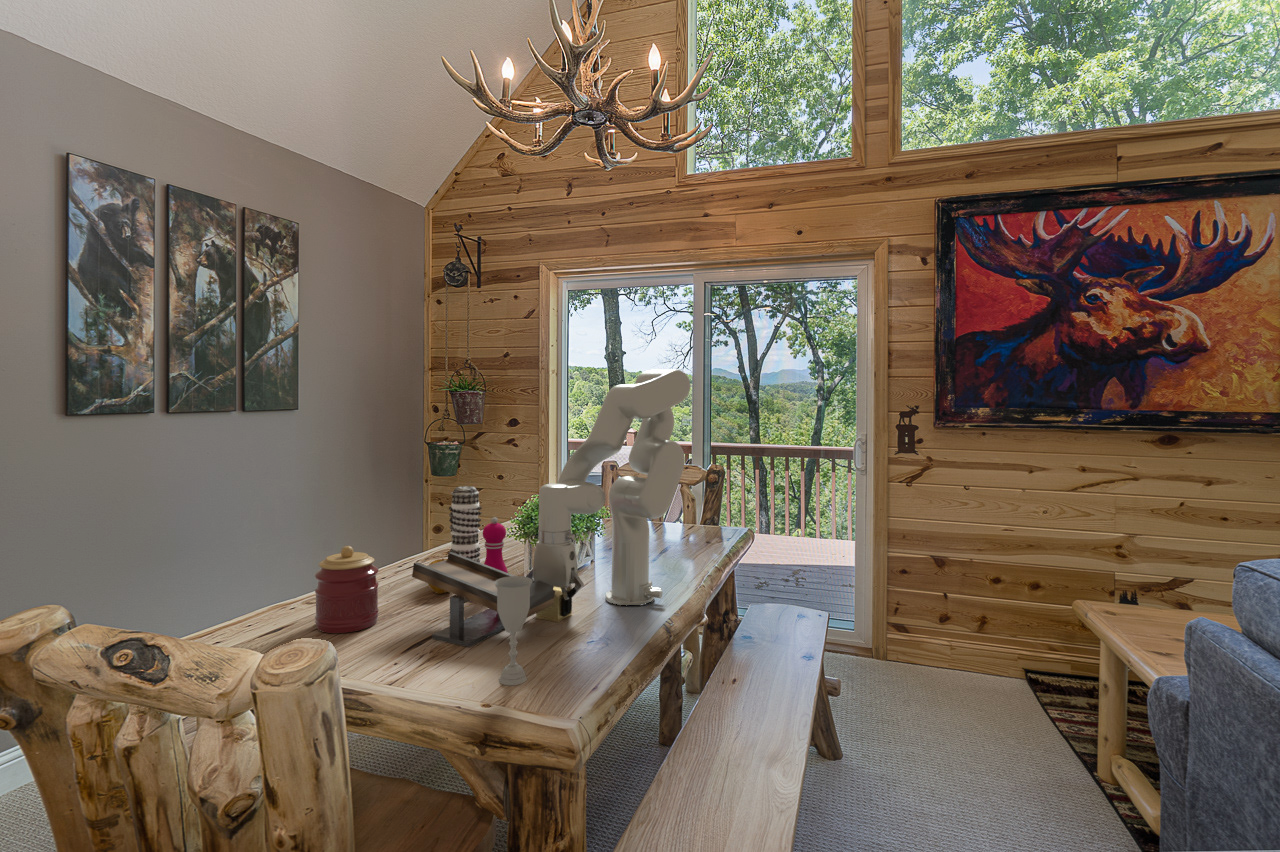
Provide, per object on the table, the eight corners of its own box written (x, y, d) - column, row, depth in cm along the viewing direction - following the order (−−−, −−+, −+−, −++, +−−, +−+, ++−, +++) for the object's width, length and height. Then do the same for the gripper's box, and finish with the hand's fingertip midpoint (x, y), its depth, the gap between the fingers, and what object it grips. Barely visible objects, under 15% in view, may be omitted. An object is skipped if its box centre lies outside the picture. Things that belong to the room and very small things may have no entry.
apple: (462, 595, 165) (462, 561, 165) (425, 599, 162) (425, 564, 161) (458, 585, 173) (458, 553, 173) (423, 589, 170) (423, 555, 170)
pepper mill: (501, 597, 163) (501, 520, 163) (475, 595, 165) (475, 518, 164) (512, 589, 171) (512, 515, 170) (487, 587, 172) (487, 514, 171)
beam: (553, 609, 141) (557, 584, 141) (518, 627, 130) (522, 600, 129) (450, 568, 154) (453, 545, 153) (409, 582, 142) (412, 557, 141)
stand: (526, 617, 149) (526, 578, 148) (469, 647, 131) (469, 603, 130) (492, 611, 153) (492, 573, 153) (431, 638, 135) (432, 595, 135)
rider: (571, 614, 152) (571, 589, 151) (557, 622, 146) (558, 596, 146) (550, 610, 154) (550, 586, 154) (536, 618, 149) (536, 592, 148)
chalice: (496, 671, 120) (497, 576, 119) (533, 670, 120) (534, 575, 119) (491, 688, 112) (491, 587, 111) (530, 687, 113) (530, 587, 112)
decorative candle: (476, 576, 182) (477, 489, 181) (444, 576, 183) (444, 489, 182) (485, 568, 192) (485, 485, 191) (454, 567, 192) (454, 485, 191)
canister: (391, 618, 147) (391, 542, 146) (348, 638, 135) (348, 555, 134) (346, 611, 151) (346, 537, 151) (301, 630, 139) (300, 549, 138)
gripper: (594, 537, 149) (593, 613, 150) (533, 530, 156) (532, 602, 157) (578, 544, 142) (577, 623, 143) (515, 535, 150) (514, 611, 150)
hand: (554, 611), depth 150 cm, fingers closed on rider, 6 cm apart
